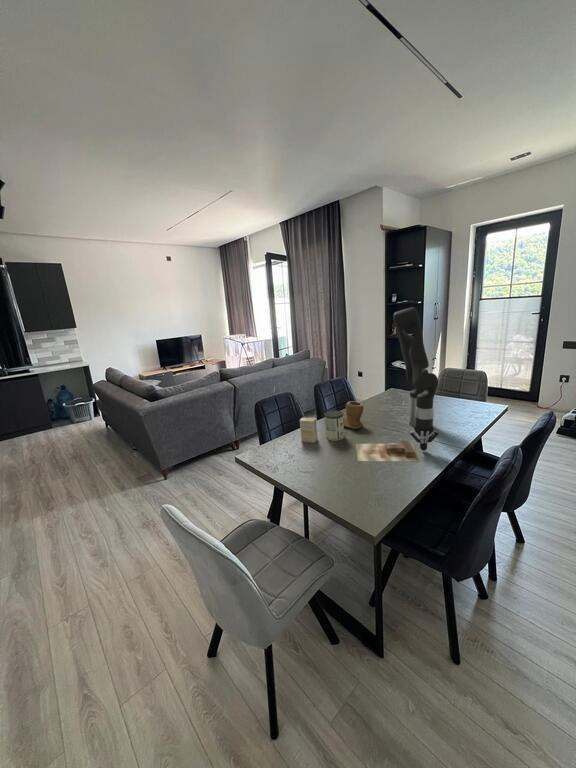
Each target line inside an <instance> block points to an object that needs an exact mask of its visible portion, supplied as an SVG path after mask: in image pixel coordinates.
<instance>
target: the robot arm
mask: <svg viewBox="0 0 576 768" xmlns="http://www.w3.org/2000/svg"><path fill="white" fill-rule="evenodd" d="M392 317H393V319H392V320H393V324H394V327H395V329H396V330H395V331H396V333H397V337H398V340H399V344H400V350H401V354H402V358H403V361H404V367H405V373H406V374H405V375H406V380H407V383H408V384H409V385H412V386H413V388H414V389H412V390H410V392H409V415H408V416H409V418H408V419H409V422H408V424H409V425H410V426H411V427H414V428H413V430H410V431H409V434H410V436H411V437H412V439H414V440H415V441H416V443H419V448H420V450H421V451H424V452H425V451H427V449H428V443H432V442H433V441H434V440H435V439H436V438H437V437H438V436H439V432H438V430H435V428H434V397H435V395H436V393H437V389H438V386H439V379H438V376H437V375H436V373H432V372H430V373H429V370H428V368H429V366H430V363H429V359H428V356H427V353H426V348H425V344H424V337H423V332H422V331H423V330H422V325H421V320H420V315H419V313H418V310H417V308H416V307H414V306H411V307H408V308H405V309H401V310H398V311H395V312H394V313H393V316H392ZM412 328H413V330H414V331H413V332H414V333H413V336H411V335H410V334H409V333H407V332H406V331H405V330H408V329H412ZM416 434H417V435H416ZM418 436H419V438H418Z"/></svg>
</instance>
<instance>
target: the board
mask: <svg viewBox="0 0 576 768" xmlns="http://www.w3.org/2000/svg"><path fill="white" fill-rule="evenodd" d="M410 443H411V445H412V447H413V449H414V451H415V458H406V457H405V455H404V454H387V453H386V444H387V443H355V449H356V454H357V456H356V457H357V462H422V460H421V457H420V455H419V454H418V452H417V450H416V448H415V447H414V444H413V443H412V442H410ZM398 444H401V442H400V443H398Z"/></svg>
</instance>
